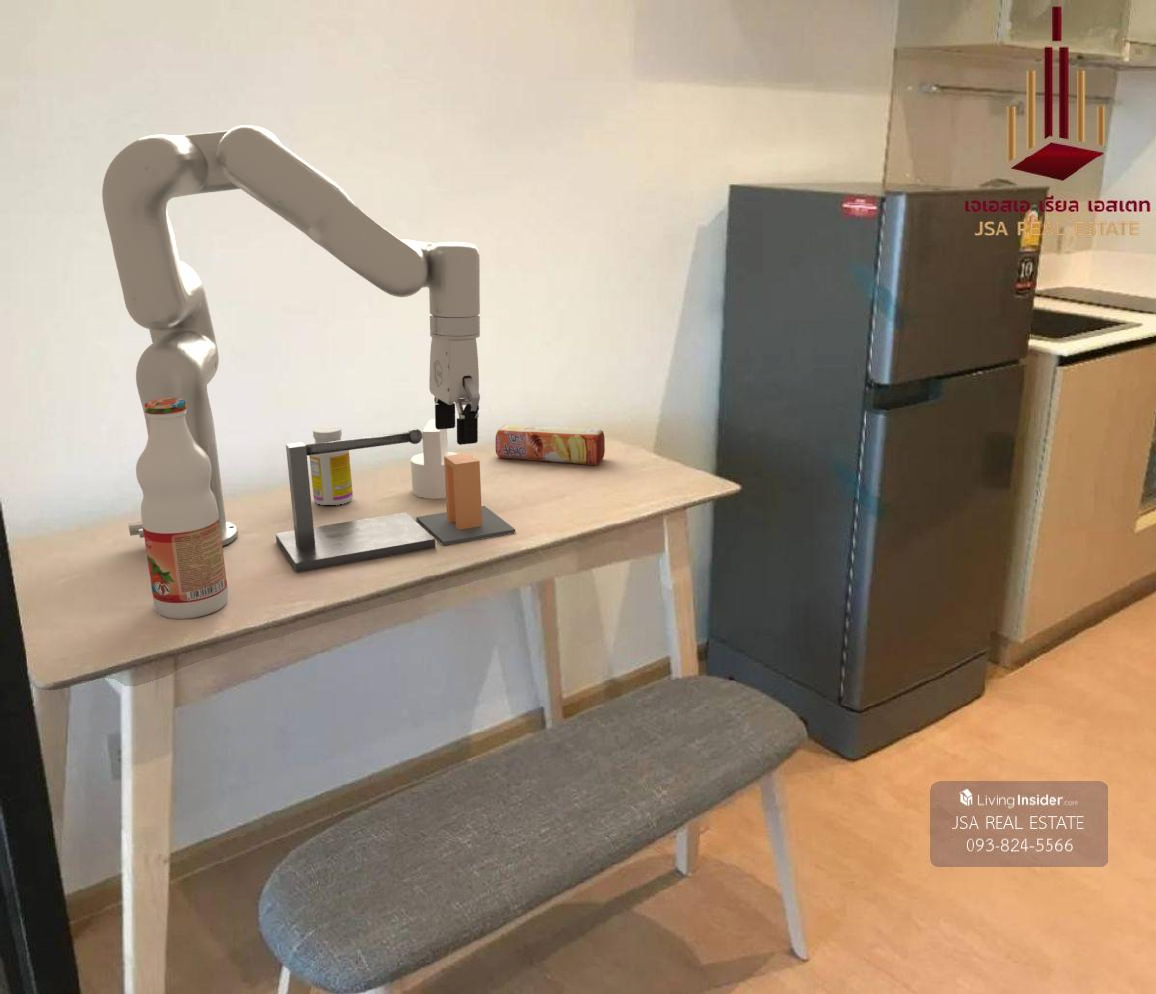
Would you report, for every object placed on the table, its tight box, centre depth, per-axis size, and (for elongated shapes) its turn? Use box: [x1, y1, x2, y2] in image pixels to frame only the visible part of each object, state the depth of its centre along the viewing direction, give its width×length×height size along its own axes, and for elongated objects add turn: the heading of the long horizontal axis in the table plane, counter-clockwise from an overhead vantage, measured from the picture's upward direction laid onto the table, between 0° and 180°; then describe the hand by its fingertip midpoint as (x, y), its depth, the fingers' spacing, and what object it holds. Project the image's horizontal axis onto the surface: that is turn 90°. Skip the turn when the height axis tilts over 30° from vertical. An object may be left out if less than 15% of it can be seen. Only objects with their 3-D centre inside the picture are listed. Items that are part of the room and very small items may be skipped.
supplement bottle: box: [309, 425, 354, 506], centre depth 182 cm, size 7×7×13 cm
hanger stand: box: [275, 427, 436, 574], centre depth 161 cm, size 22×14×17 cm, turn 117°
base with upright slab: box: [410, 418, 458, 500], centre depth 187 cm, size 9×9×12 cm
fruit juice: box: [135, 398, 229, 620], centre depth 138 cm, size 9×9×28 cm
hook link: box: [444, 452, 482, 530], centre depth 169 cm, size 4×5×11 cm
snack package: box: [495, 424, 606, 466], centre depth 206 cm, size 21×7×7 cm, turn 72°
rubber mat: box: [415, 505, 516, 547], centre depth 171 cm, size 12×13×1 cm
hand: (456, 435), depth 166 cm, fingers open, 9 cm apart
